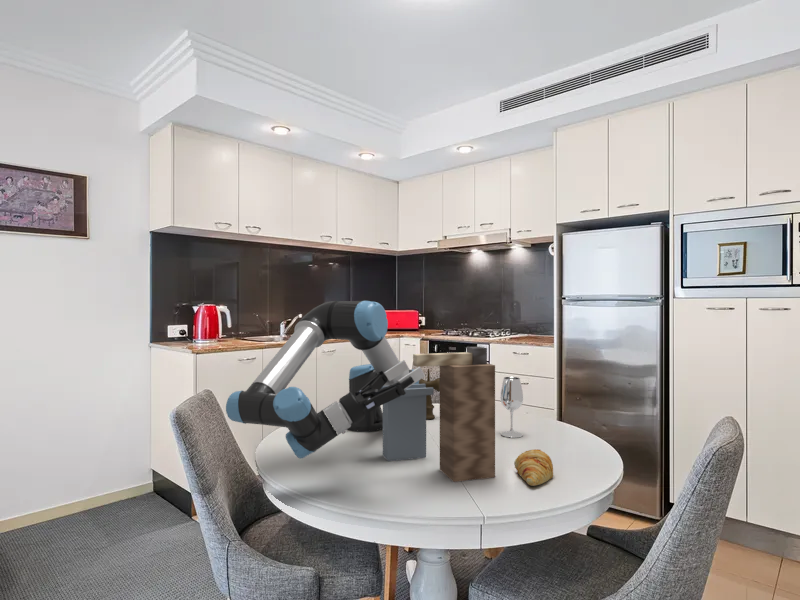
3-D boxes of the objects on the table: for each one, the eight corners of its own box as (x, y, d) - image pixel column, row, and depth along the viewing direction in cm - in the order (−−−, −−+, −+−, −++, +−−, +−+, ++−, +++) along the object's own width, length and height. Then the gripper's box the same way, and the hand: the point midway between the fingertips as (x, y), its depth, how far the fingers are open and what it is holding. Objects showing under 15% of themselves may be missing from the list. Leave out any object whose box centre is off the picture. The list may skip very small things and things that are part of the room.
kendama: (417, 416, 202) (417, 367, 202) (441, 417, 200) (441, 367, 200) (415, 419, 196) (415, 369, 196) (439, 420, 194) (439, 369, 194)
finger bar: (417, 367, 129) (417, 350, 129) (412, 365, 134) (412, 348, 134) (486, 364, 135) (486, 348, 135) (479, 362, 139) (479, 346, 139)
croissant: (544, 504, 124) (559, 478, 122) (507, 482, 126) (522, 455, 125) (545, 474, 144) (558, 451, 143) (513, 455, 146) (526, 432, 145)
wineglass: (521, 432, 178) (521, 376, 177) (524, 438, 170) (524, 380, 170) (499, 431, 178) (499, 376, 178) (501, 437, 171) (501, 379, 170)
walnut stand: (453, 481, 129) (453, 367, 129) (439, 469, 139) (439, 362, 139) (495, 477, 133) (495, 365, 133) (478, 465, 142) (478, 360, 142)
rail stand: (382, 462, 144) (382, 390, 144) (375, 454, 152) (375, 386, 152) (433, 457, 149) (433, 388, 149) (424, 450, 157) (424, 383, 157)
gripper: (344, 413, 138) (406, 372, 143) (363, 438, 114) (437, 387, 119) (330, 391, 137) (394, 350, 142) (346, 411, 113) (422, 361, 118)
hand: (414, 367), depth 131 cm, fingers open, 13 cm apart
